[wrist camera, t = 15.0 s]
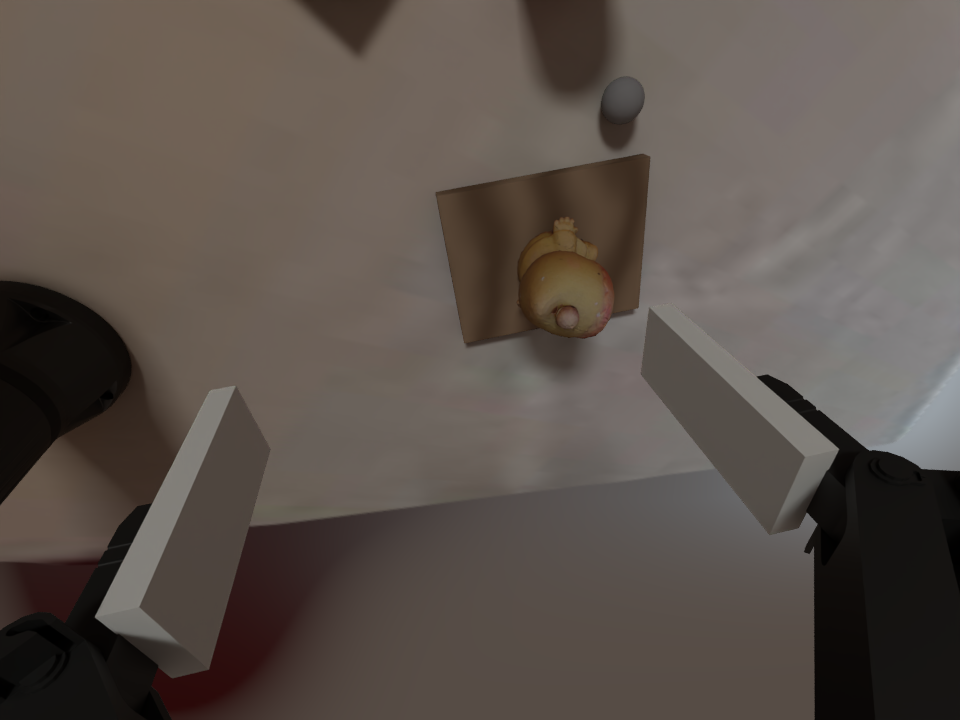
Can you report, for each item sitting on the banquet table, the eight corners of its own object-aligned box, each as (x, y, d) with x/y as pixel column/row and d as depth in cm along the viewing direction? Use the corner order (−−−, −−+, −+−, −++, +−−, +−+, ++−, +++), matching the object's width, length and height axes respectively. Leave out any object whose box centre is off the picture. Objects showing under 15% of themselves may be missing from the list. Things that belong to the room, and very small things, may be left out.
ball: (595, 124, 40) (610, 130, 38) (595, 79, 38) (611, 81, 36) (632, 117, 41) (650, 122, 38) (634, 72, 39) (654, 74, 36)
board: (462, 336, 51) (464, 343, 50) (435, 192, 42) (436, 196, 40) (632, 302, 52) (638, 308, 51) (643, 153, 43) (650, 156, 41)
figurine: (567, 312, 49) (584, 387, 37) (503, 290, 49) (498, 358, 36) (609, 226, 44) (646, 277, 32) (538, 200, 44) (548, 241, 31)
